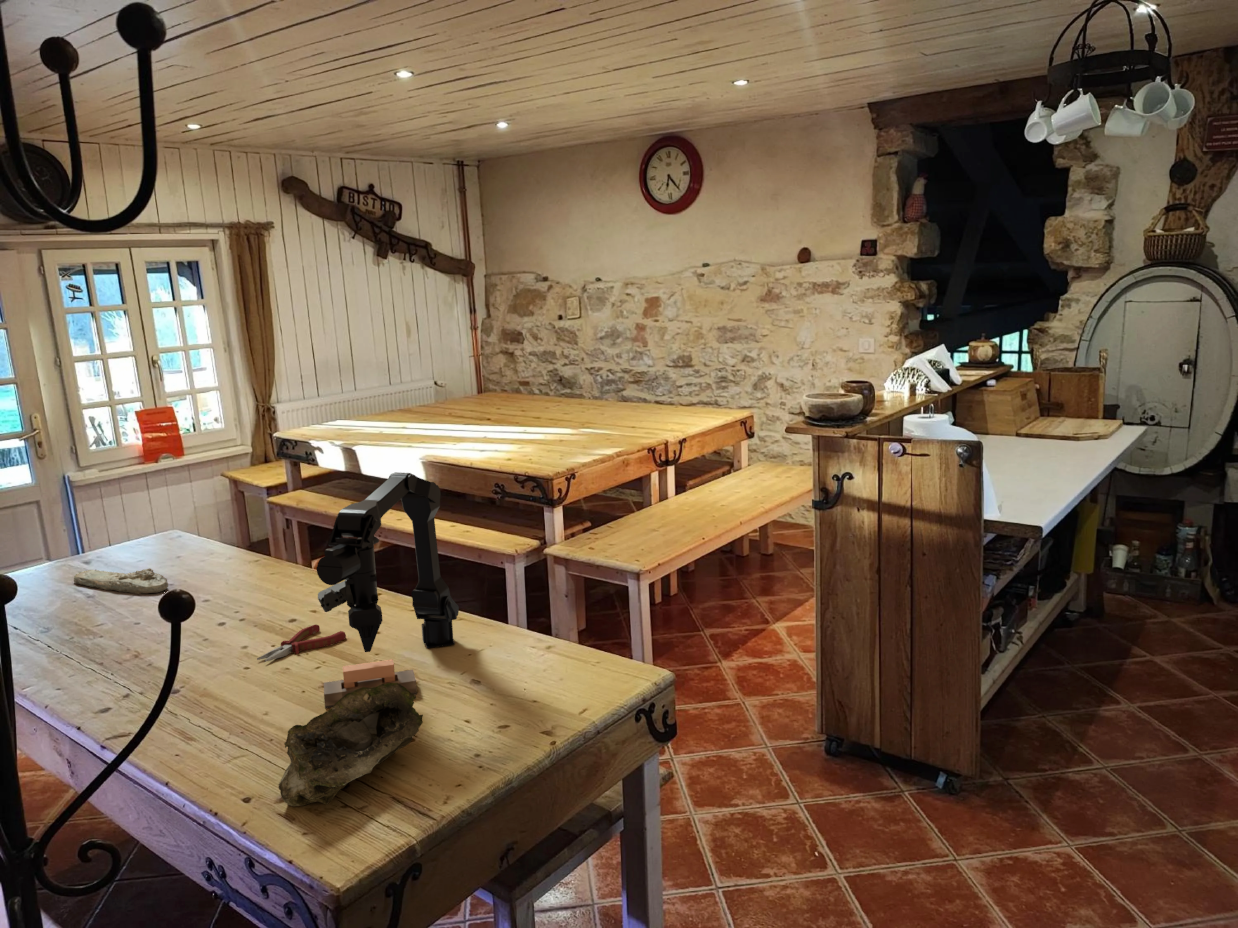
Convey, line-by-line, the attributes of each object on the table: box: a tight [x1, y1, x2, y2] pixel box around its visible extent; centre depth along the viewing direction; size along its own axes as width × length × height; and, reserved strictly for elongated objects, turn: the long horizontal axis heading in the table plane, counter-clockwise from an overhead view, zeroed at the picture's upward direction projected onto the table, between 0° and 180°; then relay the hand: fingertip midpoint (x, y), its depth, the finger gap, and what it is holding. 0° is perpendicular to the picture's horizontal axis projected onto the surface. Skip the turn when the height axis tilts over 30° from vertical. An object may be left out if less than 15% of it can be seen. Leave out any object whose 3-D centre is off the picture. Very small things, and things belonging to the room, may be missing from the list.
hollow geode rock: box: [277, 683, 424, 807], centre depth 154 cm, size 28×13×15 cm
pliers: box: [256, 624, 347, 662], centre depth 211 cm, size 12×20×3 cm, turn 148°
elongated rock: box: [73, 568, 169, 595], centre depth 261 cm, size 35×5×10 cm
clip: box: [342, 658, 396, 689], centre depth 184 cm, size 10×3×6 cm, turn 108°
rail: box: [323, 669, 418, 710], centre depth 185 cm, size 18×6×3 cm, turn 108°
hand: (366, 643), depth 183 cm, fingers open, 9 cm apart
